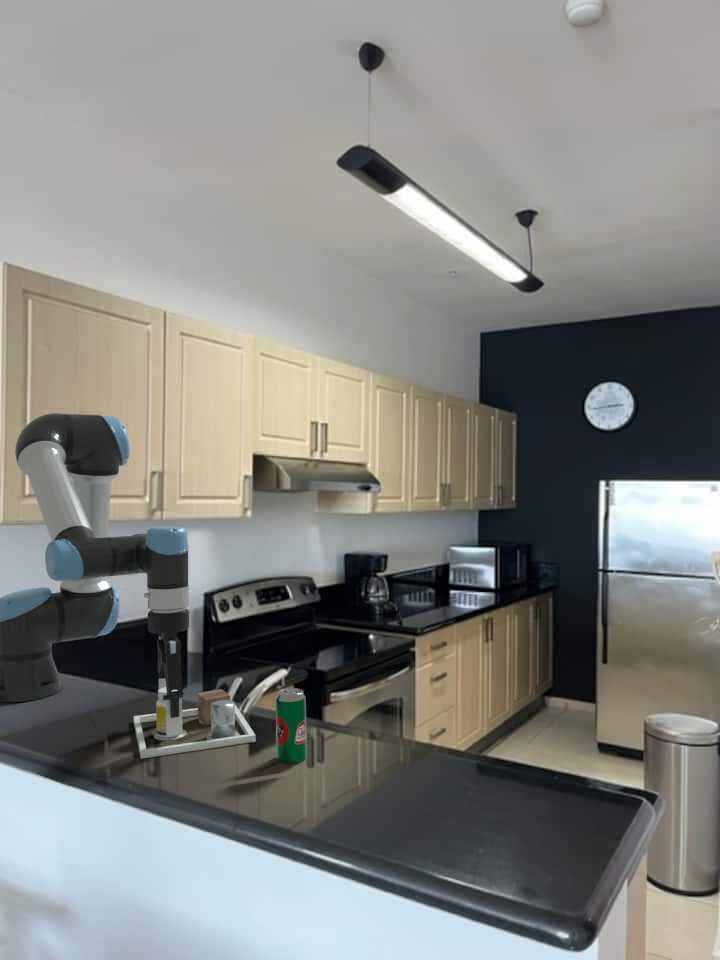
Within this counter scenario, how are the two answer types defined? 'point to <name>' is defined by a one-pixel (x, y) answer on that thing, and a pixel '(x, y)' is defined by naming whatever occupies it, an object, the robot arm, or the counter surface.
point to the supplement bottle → (162, 715)
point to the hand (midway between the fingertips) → (170, 722)
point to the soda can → (291, 726)
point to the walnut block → (209, 703)
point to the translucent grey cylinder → (222, 719)
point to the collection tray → (186, 747)
